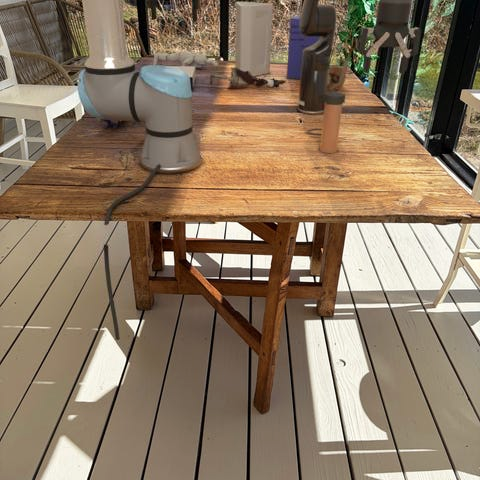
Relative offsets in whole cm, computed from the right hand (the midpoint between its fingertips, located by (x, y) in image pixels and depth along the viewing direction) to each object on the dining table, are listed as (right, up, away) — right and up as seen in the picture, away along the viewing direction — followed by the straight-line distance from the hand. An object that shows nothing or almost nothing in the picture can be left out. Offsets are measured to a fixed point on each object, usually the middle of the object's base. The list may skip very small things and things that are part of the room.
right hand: (383, 72), depth 119 cm
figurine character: (-75, -5, +31) cm, 81 cm away
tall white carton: (-30, +35, +99) cm, 109 cm away
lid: (-11, -4, +6) cm, 13 cm away
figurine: (-33, +19, +73) cm, 83 cm away
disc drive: (-63, +23, +78) cm, 103 cm away
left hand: (-57, +29, +33) cm, 72 cm away
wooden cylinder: (-11, -17, +14) cm, 25 cm away
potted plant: (+2, +20, +75) cm, 77 cm away
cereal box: (-7, +29, +90) cm, 95 cm away
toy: (-61, +40, +106) cm, 128 cm away
